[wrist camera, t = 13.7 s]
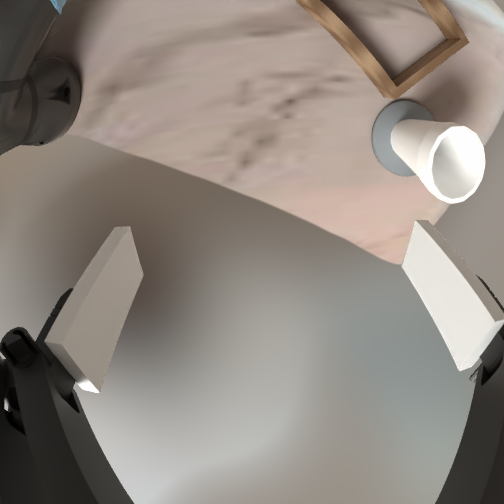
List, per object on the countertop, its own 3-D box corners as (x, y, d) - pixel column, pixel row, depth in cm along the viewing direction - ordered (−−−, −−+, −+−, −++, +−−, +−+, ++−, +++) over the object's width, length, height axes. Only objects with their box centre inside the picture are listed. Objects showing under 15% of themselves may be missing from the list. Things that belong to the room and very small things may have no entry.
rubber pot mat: (356, 130, 36) (358, 131, 35) (411, 85, 31) (414, 86, 30) (397, 188, 40) (399, 190, 40) (446, 147, 36) (449, 148, 35)
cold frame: (295, 1, 26) (302, -12, 21) (380, -47, 18) (396, -60, 13) (383, 97, 33) (402, 100, 28) (454, 42, 25) (477, 42, 20)
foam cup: (416, 98, 31) (471, 112, 21) (440, 148, 35) (492, 177, 24) (369, 130, 35) (414, 153, 24) (398, 179, 39) (442, 217, 28)
